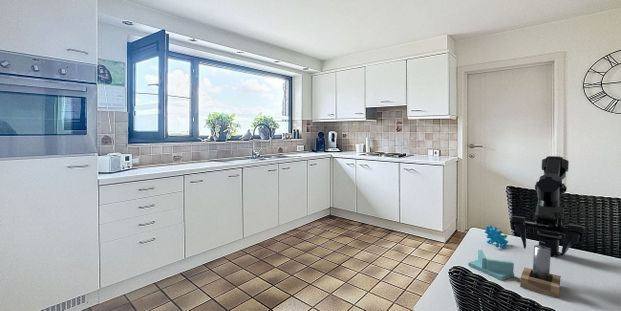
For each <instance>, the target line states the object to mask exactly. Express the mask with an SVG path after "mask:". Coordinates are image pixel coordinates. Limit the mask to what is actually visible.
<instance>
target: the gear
mask: <svg viewBox="0 0 621 311" xmlns="http://www.w3.org/2000/svg"><path fill="white" fill-rule="evenodd" d="M497 230H498V227H497V226H494V227H493V225H489V226H486V227H485V230H484V233H485V234H486V239H488V240H487V241H486V243H487V244H494V243H495V245H494V246H495V247H496V248H500V249H502V248H503V249H505V248H507V247H508V243H509V241H508V239H507V238H508V235H507V234H503V231H502V230H501V229H500V230H498V231H497Z"/></svg>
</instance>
